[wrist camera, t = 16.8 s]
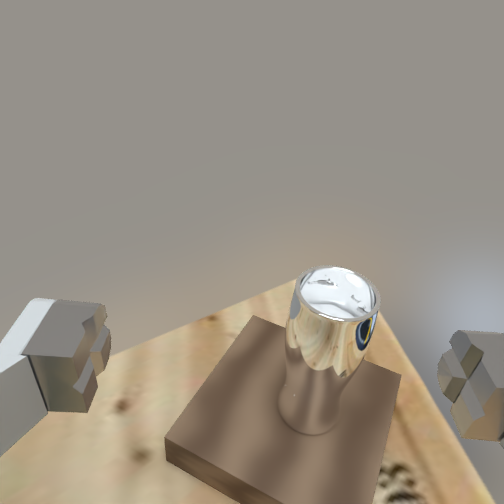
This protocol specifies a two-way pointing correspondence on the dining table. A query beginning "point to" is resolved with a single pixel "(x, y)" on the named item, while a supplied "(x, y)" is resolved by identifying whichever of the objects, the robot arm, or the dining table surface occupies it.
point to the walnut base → (281, 430)
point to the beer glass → (325, 344)
